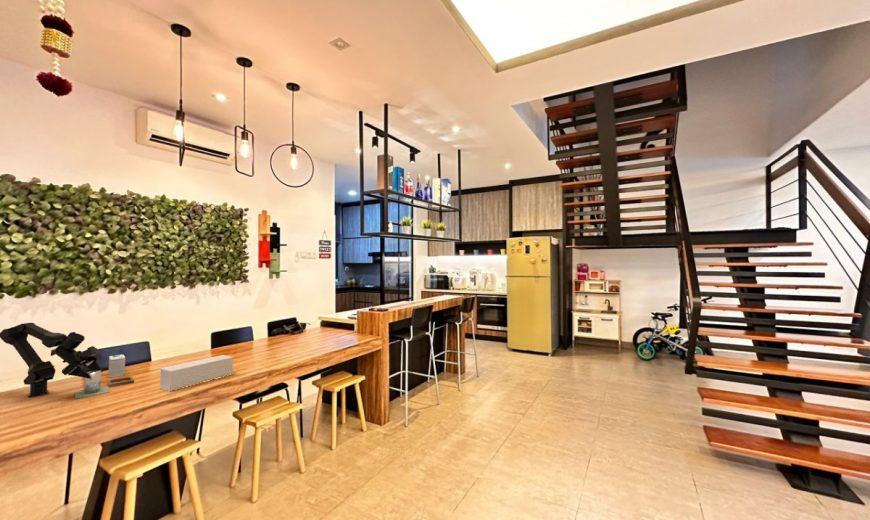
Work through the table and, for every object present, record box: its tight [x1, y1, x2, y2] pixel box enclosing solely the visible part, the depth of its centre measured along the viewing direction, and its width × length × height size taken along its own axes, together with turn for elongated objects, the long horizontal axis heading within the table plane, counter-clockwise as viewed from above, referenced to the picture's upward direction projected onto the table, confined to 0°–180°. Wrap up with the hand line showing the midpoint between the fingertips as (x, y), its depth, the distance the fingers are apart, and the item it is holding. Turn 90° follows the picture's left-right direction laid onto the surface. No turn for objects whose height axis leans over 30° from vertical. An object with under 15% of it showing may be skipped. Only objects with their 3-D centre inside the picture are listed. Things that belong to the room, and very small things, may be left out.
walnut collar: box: [107, 376, 135, 388], centre depth 190 cm, size 10×10×2 cm
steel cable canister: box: [83, 370, 102, 394], centre depth 175 cm, size 6×6×10 cm
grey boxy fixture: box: [108, 353, 126, 379], centre depth 205 cm, size 11×7×11 cm, turn 47°
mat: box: [74, 385, 110, 400], centre depth 175 cm, size 12×12×1 cm
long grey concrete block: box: [159, 354, 234, 392], centre depth 193 cm, size 32×11×11 cm, turn 150°
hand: (95, 374), depth 176 cm, fingers open, 9 cm apart
